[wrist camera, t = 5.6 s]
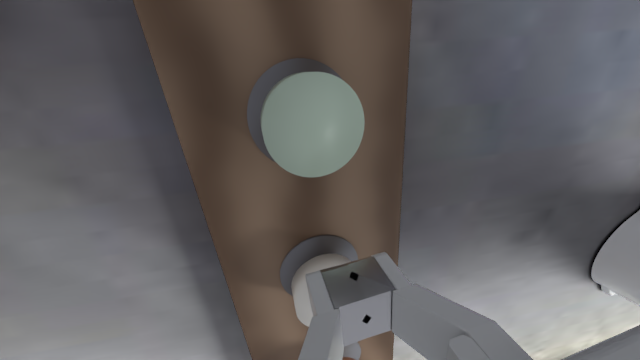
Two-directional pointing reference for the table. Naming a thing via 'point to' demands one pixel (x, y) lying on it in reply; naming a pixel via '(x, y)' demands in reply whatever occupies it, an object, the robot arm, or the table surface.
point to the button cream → (300, 283)
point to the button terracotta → (347, 358)
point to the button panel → (254, 159)
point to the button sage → (312, 123)
